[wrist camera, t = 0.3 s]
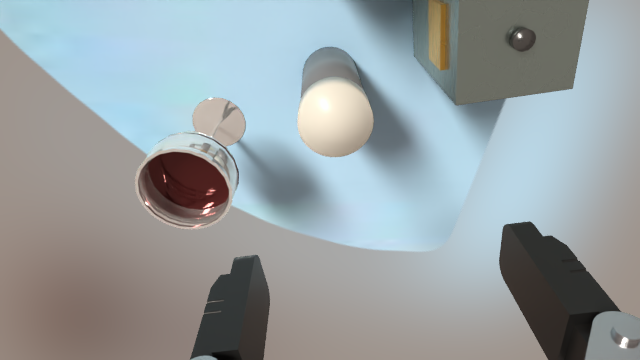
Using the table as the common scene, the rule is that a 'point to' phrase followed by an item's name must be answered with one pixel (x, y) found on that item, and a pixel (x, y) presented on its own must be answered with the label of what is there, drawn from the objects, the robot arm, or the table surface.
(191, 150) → the wineglass
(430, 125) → the table surface
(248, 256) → the robot arm
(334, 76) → the cylinder
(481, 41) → the unit
